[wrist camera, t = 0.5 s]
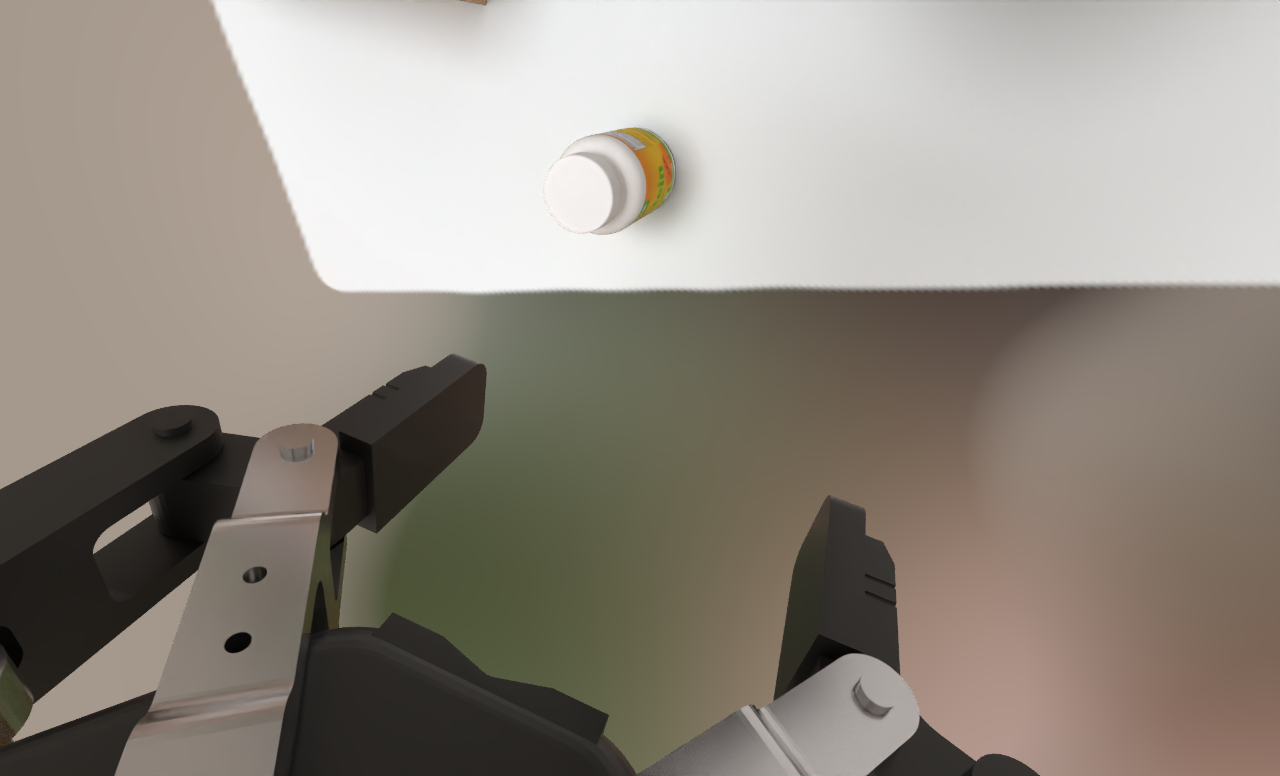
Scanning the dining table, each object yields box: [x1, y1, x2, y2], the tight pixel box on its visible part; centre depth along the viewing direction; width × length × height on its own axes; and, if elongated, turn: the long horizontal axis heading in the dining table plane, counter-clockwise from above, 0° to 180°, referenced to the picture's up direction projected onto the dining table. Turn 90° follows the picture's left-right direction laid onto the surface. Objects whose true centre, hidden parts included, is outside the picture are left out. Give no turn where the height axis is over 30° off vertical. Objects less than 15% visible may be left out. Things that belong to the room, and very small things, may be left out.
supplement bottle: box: [544, 128, 675, 235], centre depth 35 cm, size 5×5×10 cm
